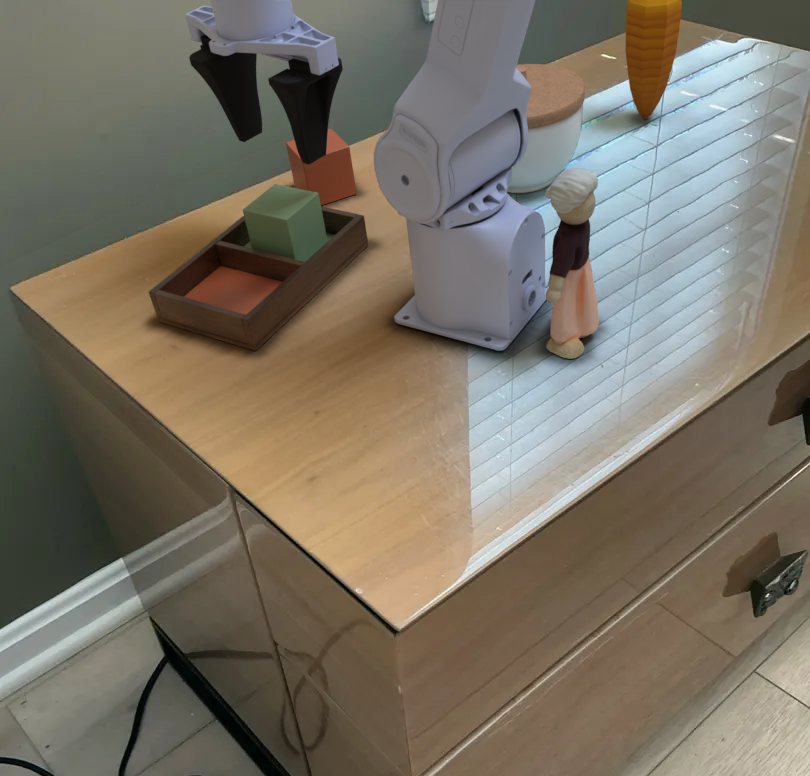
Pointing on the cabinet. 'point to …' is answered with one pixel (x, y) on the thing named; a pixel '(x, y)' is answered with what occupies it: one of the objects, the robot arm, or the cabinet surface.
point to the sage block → (286, 222)
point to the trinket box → (549, 125)
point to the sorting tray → (253, 282)
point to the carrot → (650, 49)
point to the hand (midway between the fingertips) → (281, 147)
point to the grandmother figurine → (572, 263)
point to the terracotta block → (325, 170)
